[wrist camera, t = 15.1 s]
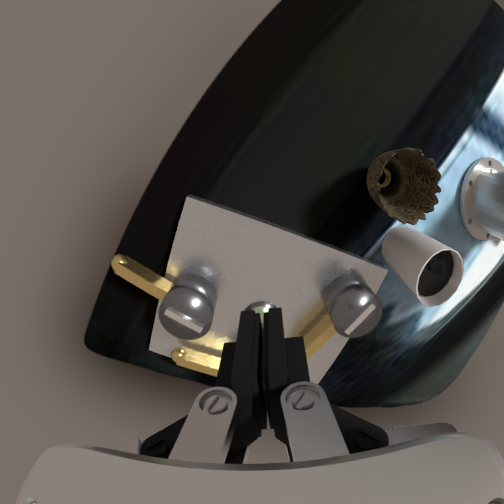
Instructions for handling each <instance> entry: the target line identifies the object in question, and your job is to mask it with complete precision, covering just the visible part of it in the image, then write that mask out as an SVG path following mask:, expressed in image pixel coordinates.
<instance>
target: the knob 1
mask: <svg viewBox="0 0 504 504" xmlns="http://www.w3.org/2000/svg"><path fill="white" fill-rule="evenodd" d="M112 268H113V270H114V271H115V273H116V274H117V275H119V276H121V277H122V278H124V279H125V280H127V281H129V282H130V283H132V284H134V285H135V286H137V287H139V288H140V289H142V290H144V291H145V292H147V293H149V294H151V295H152V296H154V297H156V298H158V299H159V300H161V301H162V303H161V305H160V307H159V310H158V316H159V320H160V322H161V324H162V326H163V327H164V329H165V330H166V331H167V332H169V333H170V334H171V335H173V336H175V337H177V338H180V339H184V340H194V339H198V338H201V337H203V336H204V335H206V334H207V333H208V331H209V330H210V328H211V325H212V320H213V315H214V311H215V306H216V301H217V294H216V290H215V288H214V286H213V285H212V284H211V283H210V282H209V281H208V280H207V279H206V278H204V277H202V276H200V275H196V274H185V275H181V276H179V277H178V278H176V279H175V280H174V281H173V283H172V282H170V281H169V280H167V279H165V278H163V277H162V276H160V275H158V274H156V273H155V272H153V271H151V270H150V269H148V268H146V267H145V266H143V265H141V264H140V263H138V262H136V261H135V260H133V259H131V258H130V257H128V256H124V255H121V254H119V255H116V256H115V257H114V258H113V260H112Z"/></svg>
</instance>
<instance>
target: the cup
mask: <svg viewBox="0 0 504 504" xmlns="http://www.w3.org/2000/svg"><path fill="white" fill-rule="evenodd" d="M420 152H421V150H419V149H412V148H405V149H399V150H394V151H389V152H386V153H383V154H381V155H380V156H378V157H377V158H375V159H374V161H373V162H372V163H371V165H370V167H369V169H368V172H367V188H368V191H369V193H370V195H371V197H372V199H373V200H374V201H375V202H376V204H377V205H378V206H379V207H381V208H382V209H383V210H384V211H385V212H386V213H387V214H388V215H389V216H390V217H393V218H394V219H397V220H398V221H400V222H402V223H403V224H406V223H409V224H411V225H415V224H417V222H418V219H421V220H426V215H425V214H424V213H429V212H432V211H434V205H436V204H438V198H437V196H436V195H435V193H438V192H439V193H440V192H441V188H440V187H439V186H437V184H438V182H439V181H440V178H441V174H440V172H439V171H438V170H437V168H436V167H435V166H434V165H435V161H434V160H433V159H429V158H426V157H425V156H424V154H421V153H420ZM382 171H383V172H384V173H385V175H386V179H385V181H384V182H383V183H382V184H379V180H380V177H381V176H382V174H383V172H382Z"/></svg>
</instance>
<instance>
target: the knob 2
mask: <svg viewBox="0 0 504 504" xmlns="http://www.w3.org/2000/svg"><path fill="white" fill-rule="evenodd" d="M324 304H325V307H326V309H327V311H328V313H327V314H326V315H325V316H324V317H323V318H322V320H321V321H320V322H319V323H318V324H317V325H316V326H315V327H314V328H313V329H312V330H311V331H310V332H309V333H307V334H306V335H305V336H304V337H303V339H304V345H305V351H306V357H307V360H308V359H309V358H310V357H311V356H312V355H313V354H314V353H315V352H316V351H317V350H319V349H320V348H321V347H322V346H323V345H324V344H325V343H326V342H327V341H328V340H329V339H330V338H331V337H332V336H333V335H334V334H335V333H336V332H337V333H338V334H340V335H341V336H343V337H347V338H356V337H360V336H363V335H365V334H367V333H369V332H370V331H371V330H372V329H374V328H375V326H376V325H377V324H378V322H379V321H380V319H381V316H382V304H381V302H380V300H379V299H378V298H377V296H376V295H375V294H374V292H373V291H372V290H371V288H370V287H369V286H368V284H367V283H366V282H365V280H364V279H363V278H362V277H360V276H358V275H355V274H344V275H341V276H339V277H337V278H335V279H334V280H333V281H332V282H331V283H330V284H329V285H328V286H327V288H326V290H325V293H324Z"/></svg>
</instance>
